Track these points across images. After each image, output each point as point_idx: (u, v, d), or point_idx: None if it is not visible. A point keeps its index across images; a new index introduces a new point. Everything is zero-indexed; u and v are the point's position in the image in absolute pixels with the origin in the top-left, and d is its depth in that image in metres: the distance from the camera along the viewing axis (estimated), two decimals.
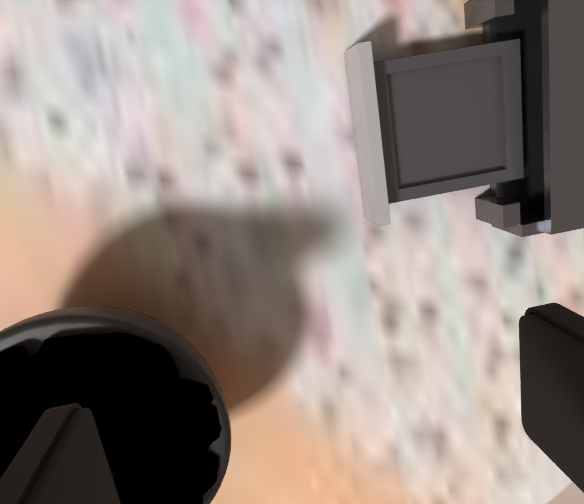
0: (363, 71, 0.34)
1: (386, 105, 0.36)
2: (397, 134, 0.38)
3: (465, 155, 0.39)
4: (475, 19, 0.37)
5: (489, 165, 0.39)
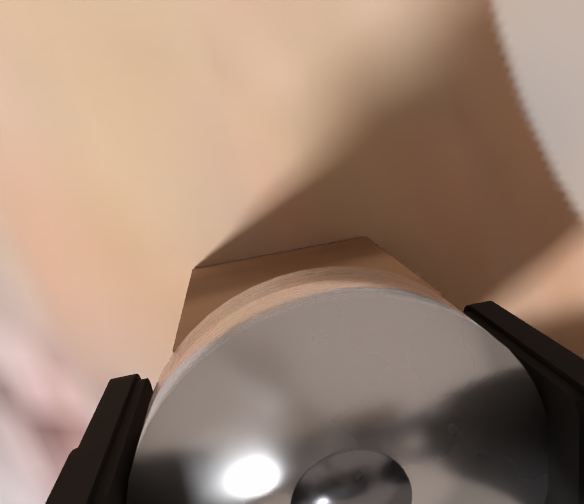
0: None
1: None
2: None
3: None
4: None
5: None
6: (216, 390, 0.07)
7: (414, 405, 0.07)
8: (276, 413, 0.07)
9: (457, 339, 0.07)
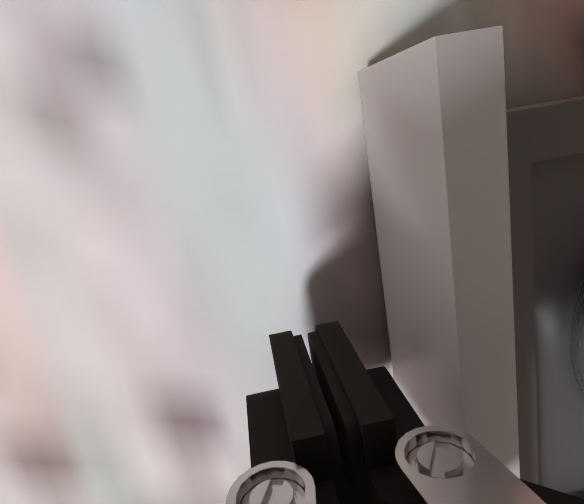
0: (458, 172, 0.07)
1: (521, 276, 0.10)
2: (543, 356, 0.11)
3: None
4: None
5: None
6: None
7: None
8: None
9: None
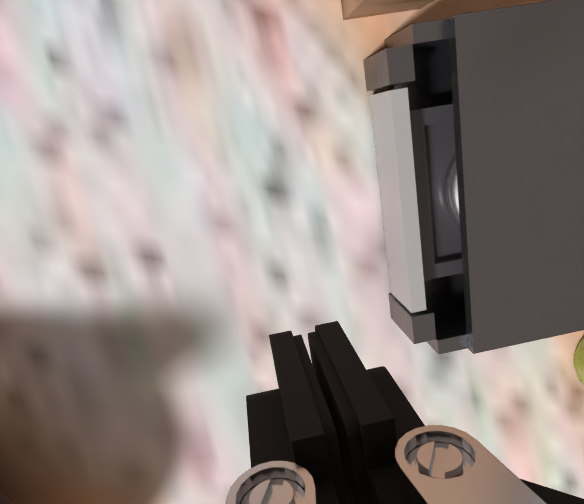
0: (397, 125, 0.27)
1: (422, 163, 0.29)
2: (434, 197, 0.30)
3: None
4: (374, 82, 0.28)
5: None
6: None
7: None
8: None
9: None
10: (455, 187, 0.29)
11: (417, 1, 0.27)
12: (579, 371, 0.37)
